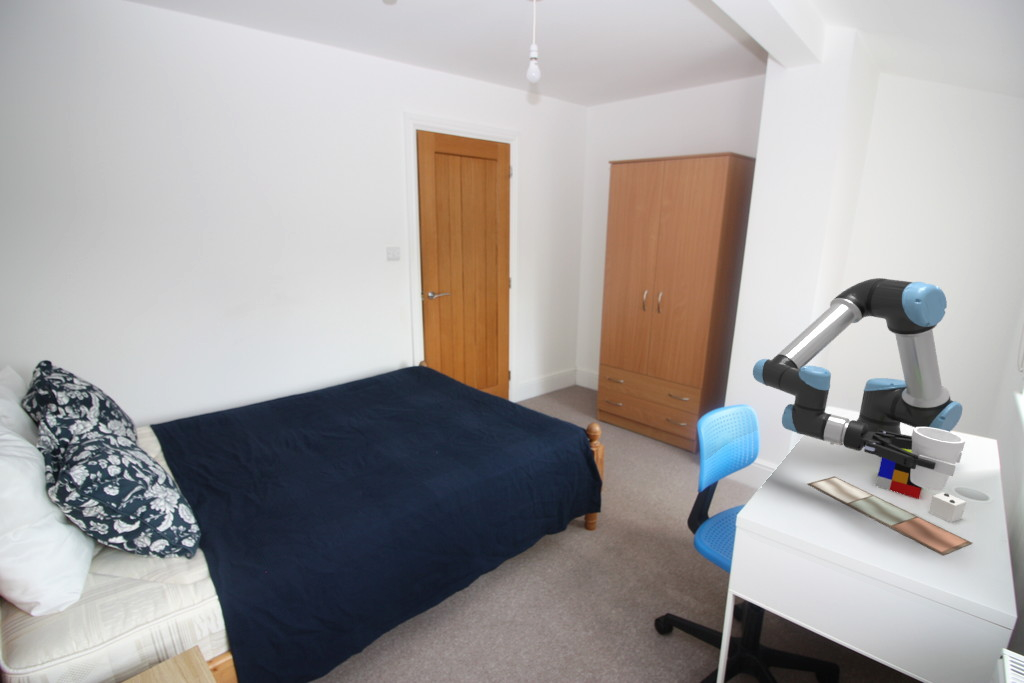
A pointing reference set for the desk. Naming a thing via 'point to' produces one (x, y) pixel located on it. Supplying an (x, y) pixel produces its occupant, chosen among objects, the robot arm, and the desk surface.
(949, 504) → the die
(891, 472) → the puzzle toy
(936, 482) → the foam cup
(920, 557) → the desk surface
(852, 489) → the color swatch strip
